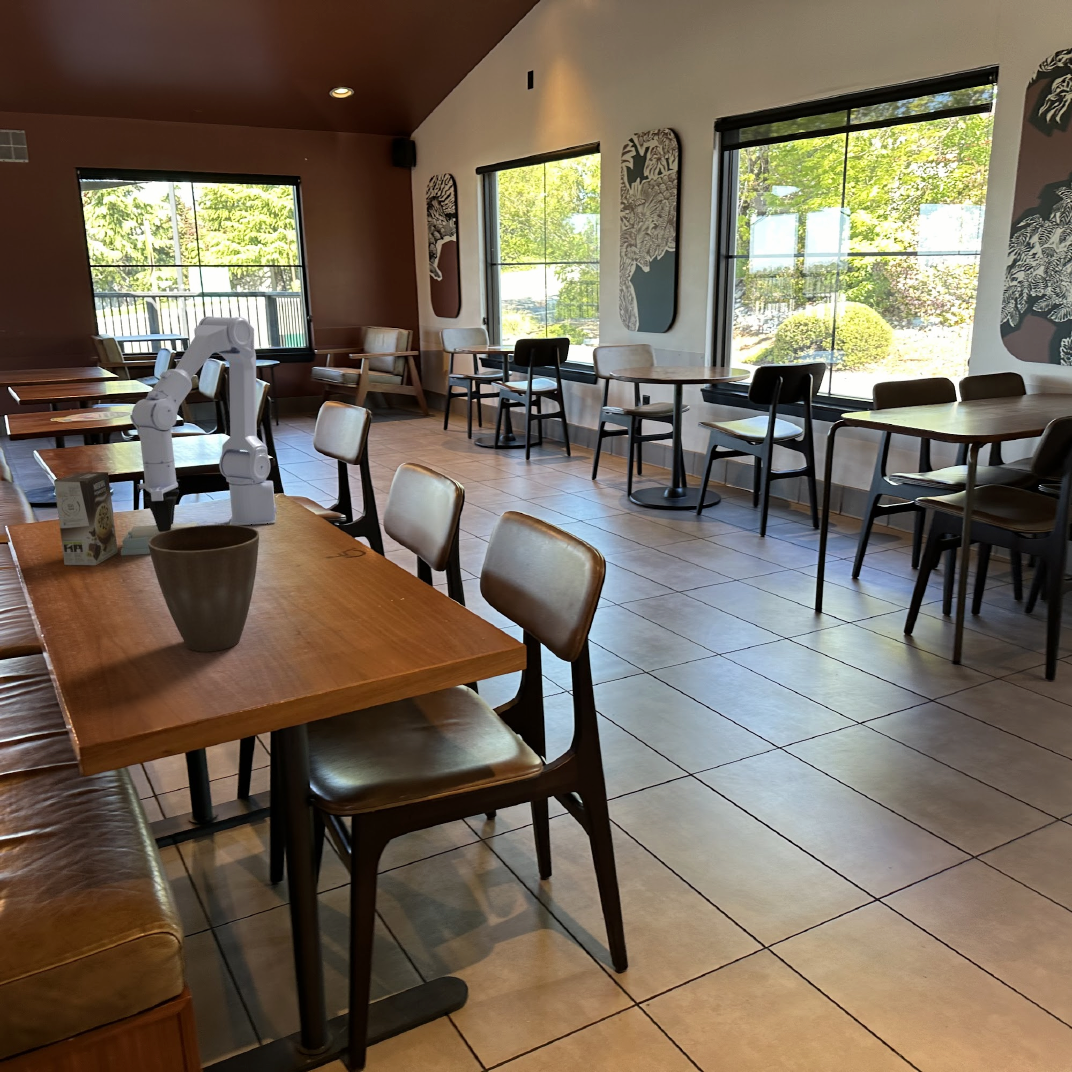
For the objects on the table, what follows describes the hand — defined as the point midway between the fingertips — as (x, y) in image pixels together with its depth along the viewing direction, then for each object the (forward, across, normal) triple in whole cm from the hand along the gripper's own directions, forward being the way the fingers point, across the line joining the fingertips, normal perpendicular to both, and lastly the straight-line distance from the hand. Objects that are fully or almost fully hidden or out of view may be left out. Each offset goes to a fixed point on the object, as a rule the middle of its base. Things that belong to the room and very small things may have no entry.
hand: (165, 529), depth 189 cm
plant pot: (+4, +58, +13) cm, 59 cm away
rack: (+4, 0, 0) cm, 4 cm away
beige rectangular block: (+3, 0, 0) cm, 3 cm away
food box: (+4, +6, -13) cm, 15 cm away
